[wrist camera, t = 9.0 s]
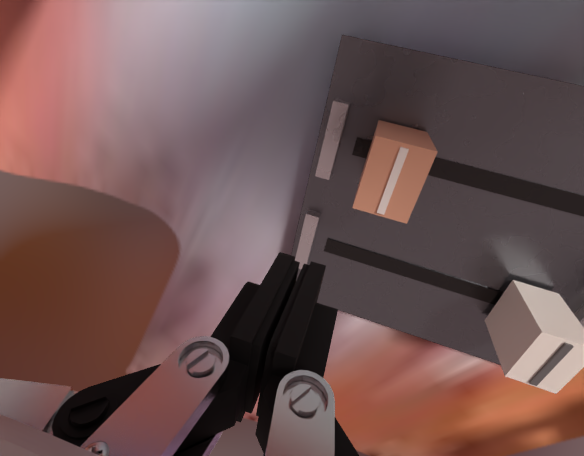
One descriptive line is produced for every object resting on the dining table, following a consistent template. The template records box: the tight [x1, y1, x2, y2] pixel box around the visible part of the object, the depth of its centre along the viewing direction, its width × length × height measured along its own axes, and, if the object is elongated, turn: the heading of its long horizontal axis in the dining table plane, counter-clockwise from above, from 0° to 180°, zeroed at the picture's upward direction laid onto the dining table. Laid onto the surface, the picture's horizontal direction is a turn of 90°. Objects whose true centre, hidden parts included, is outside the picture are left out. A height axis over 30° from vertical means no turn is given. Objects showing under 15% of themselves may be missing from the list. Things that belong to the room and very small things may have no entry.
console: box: [291, 35, 584, 365], centre depth 23 cm, size 20×22×3 cm
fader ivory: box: [485, 280, 584, 394], centre depth 21 cm, size 4×3×5 cm
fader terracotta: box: [352, 120, 438, 224], centre depth 18 cm, size 4×3×5 cm
